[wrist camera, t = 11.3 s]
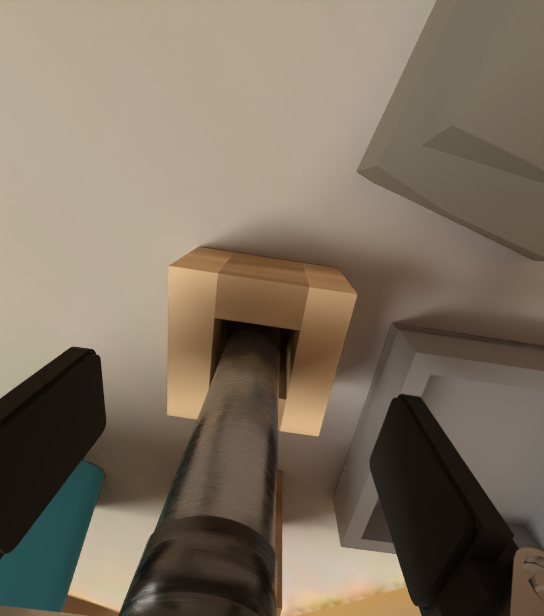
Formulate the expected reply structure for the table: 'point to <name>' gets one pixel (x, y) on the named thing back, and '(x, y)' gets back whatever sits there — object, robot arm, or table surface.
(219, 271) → the oak block
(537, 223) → the soap mold
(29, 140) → the table surface
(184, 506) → the gauge pin
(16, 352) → the table surface
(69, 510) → the block
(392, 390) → the tray
